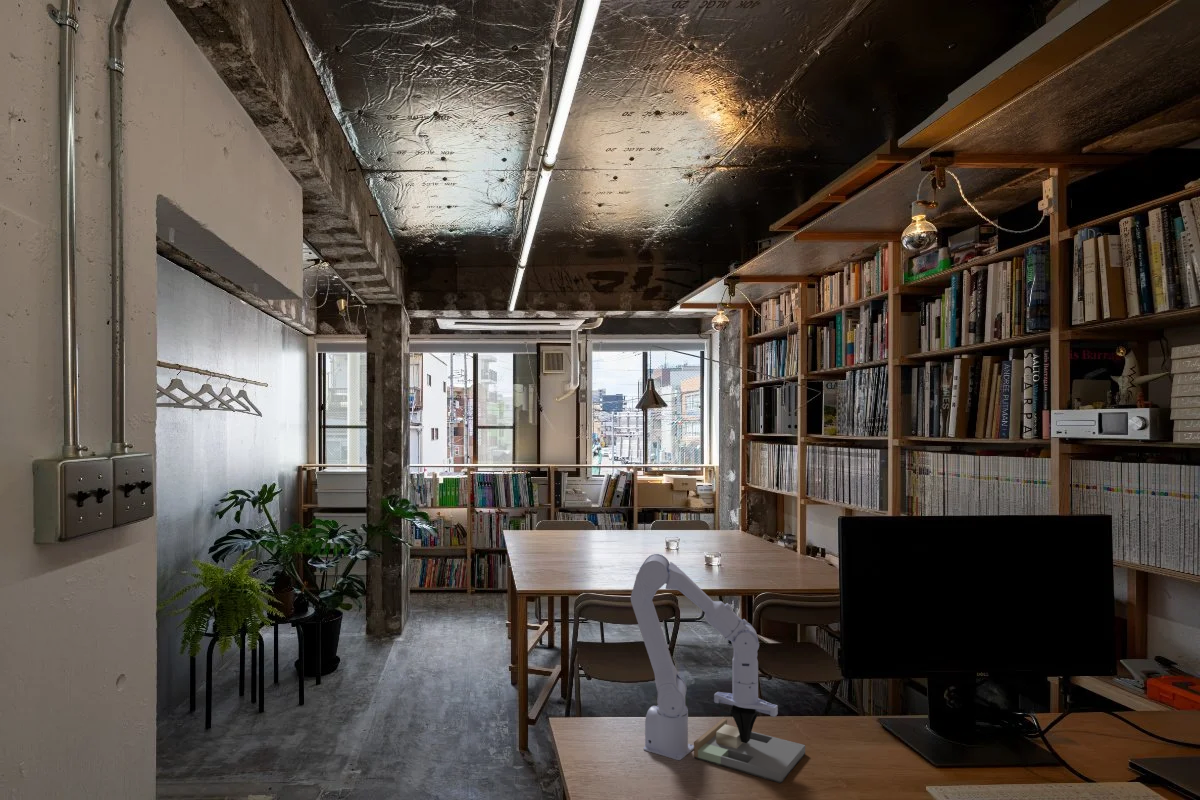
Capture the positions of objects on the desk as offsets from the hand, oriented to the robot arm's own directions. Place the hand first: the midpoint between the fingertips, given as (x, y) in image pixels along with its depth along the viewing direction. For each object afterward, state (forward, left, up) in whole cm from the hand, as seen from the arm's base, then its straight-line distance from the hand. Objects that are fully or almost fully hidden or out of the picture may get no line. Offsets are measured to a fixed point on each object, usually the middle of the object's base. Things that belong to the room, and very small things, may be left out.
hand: (745, 740), depth 158 cm
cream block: (-4, 0, -1) cm, 4 cm away
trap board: (+1, 0, -3) cm, 3 cm away
